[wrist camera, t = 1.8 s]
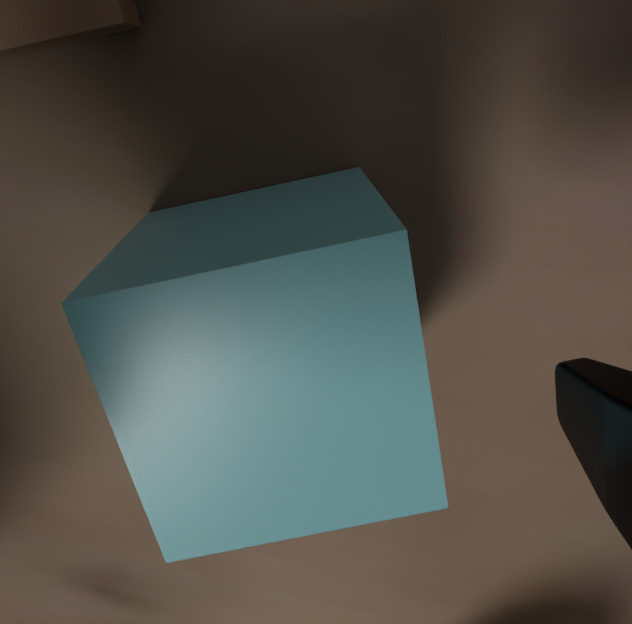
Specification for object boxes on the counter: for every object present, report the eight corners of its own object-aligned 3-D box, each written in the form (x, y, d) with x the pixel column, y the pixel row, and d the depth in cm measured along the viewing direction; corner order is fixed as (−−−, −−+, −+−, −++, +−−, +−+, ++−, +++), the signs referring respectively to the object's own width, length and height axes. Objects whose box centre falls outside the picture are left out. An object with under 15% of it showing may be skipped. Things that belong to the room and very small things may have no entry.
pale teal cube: (207, 394, 16) (166, 563, 11) (148, 212, 14) (61, 302, 9) (392, 356, 16) (448, 507, 11) (359, 166, 14) (406, 229, 9)
